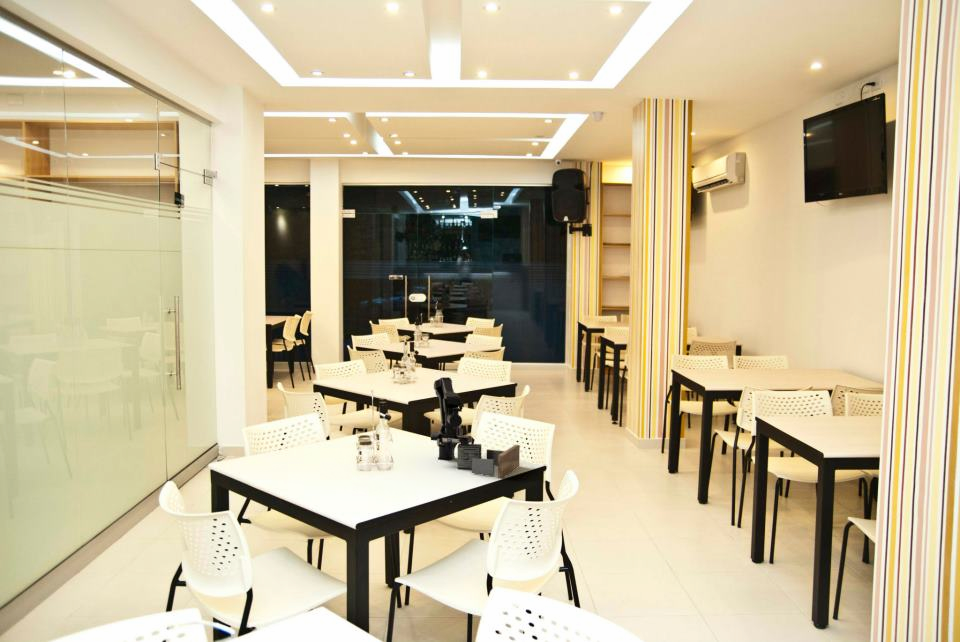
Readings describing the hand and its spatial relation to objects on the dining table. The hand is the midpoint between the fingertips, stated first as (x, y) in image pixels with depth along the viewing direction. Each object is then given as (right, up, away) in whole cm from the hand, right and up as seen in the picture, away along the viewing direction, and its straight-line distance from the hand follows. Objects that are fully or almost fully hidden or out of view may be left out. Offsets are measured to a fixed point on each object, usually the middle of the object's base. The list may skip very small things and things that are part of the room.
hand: (451, 456), depth 319 cm
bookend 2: (+21, -4, +1) cm, 22 cm away
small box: (+8, -5, -3) cm, 10 cm away
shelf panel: (+26, -5, -11) cm, 29 cm away
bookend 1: (+15, -5, -15) cm, 22 cm away
